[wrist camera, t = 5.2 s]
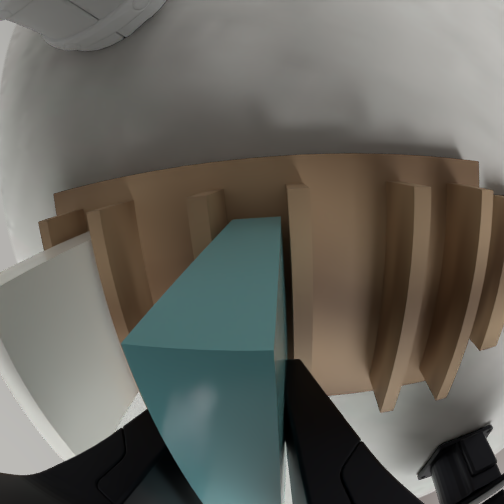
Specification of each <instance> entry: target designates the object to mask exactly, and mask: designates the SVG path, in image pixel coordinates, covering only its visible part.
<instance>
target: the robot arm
mask: <svg viewBox="0 0 504 504" xmlns="http://www.w3.org/2000/svg"><path fill="white" fill-rule="evenodd" d="M284 400H285V442H286V450H287V459H288V467H289V475H290V484H291V493H292V501H293V504H424V503H423V502H422V501H420V500H419V499H418V498H417V497H416V496H415V495H414V494H412V493H411V492H410V491H409V490H408V489H407V488H406V487H404V486H403V485H402V484H401V483H400V482H399V481H398V480H397V479H396V478H395V477H394V476H393V475H392V474H390V473H389V472H388V471H387V470H386V469H385V468H384V467H383V465H382V464H381V463H380V462H379V461H378V460H377V459H376V457H375V456H374V455H373V454H372V453H371V451H370V450H369V449H368V448H367V446H366V445H365V444H364V442H362V441H361V439H360V438H359V436H358V435H357V434H356V432H355V431H354V430H353V428H352V427H351V426H350V425H349V423H348V422H347V421H346V419H345V418H344V417H343V415H342V414H341V413H340V411H339V410H338V409H337V408H336V406H335V405H334V404H333V402H332V401H331V400H330V398H329V397H328V396H327V394H326V393H325V392H324V390H323V389H322V388H321V386H320V385H319V384H318V382H317V381H316V380H315V378H314V377H313V375H312V374H311V373H310V371H309V370H308V369H307V367H306V366H305V365H304V363H303V362H302V361H301V360H300V359H287V360H285V389H284ZM492 429H493V427H492V425H489V426H487V427H484V428H482V429H480V430H478V431H475V432H473V433H471V434H468V435H466V436H463V437H461V438H458V439H455V440H453V441H450V442H447V443H444V444H442V445H441V446H439V447H438V448H437V450H436V451H435V453H434V454H433V456H432V457H431V459H430V460H429V461H428V463H427V464H426V466H425V467H424V468H423V470H422V471H421V472H420V474H419V475H418V476H417V477H418V480H421V479H424V478H427V477H430V476H432V479H433V482H434V486H435V489H436V493H437V496H438V500H439V503H440V504H478V503H480V502H481V501H483V500H485V499H486V498H488V497H489V496H490V495H492V494H493V493H495V492H496V491H498V490H499V489H500V488H502V487H503V486H504V474H502V475H501V473H500V471H499V468H498V466H497V464H496V463H497V459H496V457H495V455H494V453H493V451H492V449H491V447H490V445H489V443H488V441H487V439H486V438H487V436H488V435H489V433H490V432H491V431H492ZM360 441H361V442H360ZM0 504H203V503H202V501H201V500H200V499H199V497H198V496H197V494H196V493H195V491H194V490H193V488H192V487H191V485H190V484H189V482H188V481H187V479H186V478H185V476H184V474H183V473H182V471H181V470H180V468H179V466H178V465H177V463H176V461H175V460H174V458H173V456H172V454H171V453H170V451H169V449H168V447H167V445H166V444H165V442H164V440H163V438H162V436H161V434H160V432H159V431H158V429H157V427H156V425H155V423H154V421H153V419H152V417H151V415H150V413H149V410H148V409H146V410H145V411H144V412H142V413H141V414H140V415H138V416H137V417H135V418H134V419H133V420H131V421H130V422H129V423H127V424H126V425H124V426H123V428H120V429H119V430H117V431H116V432H114V433H113V434H112V435H110V436H109V437H107V438H106V439H104V440H102V441H101V442H99V443H98V444H96V445H95V446H93V447H91V448H89V449H87V450H86V451H84V452H82V453H80V454H78V455H76V456H74V457H72V458H70V459H68V460H66V461H64V462H62V463H60V464H58V465H56V466H54V467H52V468H49V469H47V470H45V471H42V472H40V473H36V474H32V475H13V474H6V473H0ZM482 504H504V490H503V489H502V490H501V491H499V492H498V493H497V494H495V495H494V496H492V497H491V498H489V499H488V500H486V501H485V502H483V503H482Z"/></svg>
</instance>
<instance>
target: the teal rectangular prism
mask: <svg viewBox="0 0 504 504" xmlns="http://www.w3.org/2000/svg"><path fill="white" fill-rule="evenodd" d="M121 346H122V348H123V351H124V354H125V356H126V359H127V362H128V364H129V367H130V369H131V372H132V374H133V377H134V379H135V381H136V384H137V386H138V388H139V391H140V393H141V395H142V398H143V400H144V402H145V404H146V406H147V408H148V410H149V413H150V415H151V417H152V419H153V421H154V423H155V425H156V427H157V429H158V431H159V432H160V434H161V436H162V438H163V440H164V442H165V444H166V445H167V447H168V449H169V451H170V453H171V454H172V456H173V458H174V460H175V461H176V463H177V465H178V466H179V468H180V470H181V471H182V473H183V474H184V476H185V478H186V479H187V481H188V482H189V484H190V485H191V487H192V488H193V490H194V491H195V493H196V494H197V496H198V497H199V499H200V500H201V501H202V503H203V504H284V498H285V480H286V458H287V450H286V442H285V400H284V389H285V360H287V359H288V348H287V319H286V295H285V274H284V256H283V239H282V223H281V216H278V217H262V218H247V219H233V220H231V222H230V223H229V224H228V225H227V226H226V227H225V228H224V229H223V230H222V231H221V232H220V233H219V234H218V235H217V236H216V237H215V238H214V239H213V241H212V242H211V243H210V244H209V245H208V246H207V247H206V248H205V249H204V250H203V251H202V252H201V253H200V255H199V256H198V257H197V258H196V259H195V260H194V261H193V262H192V263H191V264H190V265H189V267H188V268H187V269H186V270H185V271H184V272H183V273H182V274H181V275H180V276H179V278H178V279H177V280H176V281H175V282H174V283H173V284H172V285H171V286H170V288H169V289H168V290H167V291H166V292H165V293H164V294H163V295H162V296H161V298H160V299H159V300H158V301H157V302H156V303H155V304H154V306H153V307H152V308H151V309H150V310H149V311H148V312H147V314H146V315H145V316H144V317H143V318H142V319H141V320H140V322H139V323H138V324H137V325H136V326H135V327H134V329H133V330H132V331H131V332H130V333H129V334H128V336H127V337H126V338H125V339H124V340H123V341H122V343H121Z"/></svg>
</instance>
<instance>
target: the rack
mask: <svg viewBox="0 0 504 504" xmlns="http://www.w3.org/2000/svg"><path fill="white" fill-rule="evenodd" d="M54 201H55V208H56V214H57V216H55V217H52V218H48V219H45V220H42V221H39V222H38V223H39V229H40V234H41V239H42V243H43V248H44V251H45V250H47V249H49V248H51V247H53V246H56V245H58V244H60V243H62V242H65V241H67V240H69V239H72V238H74V237H76V236H79V235H81V234H83V233H86V232H88V231H90V237H91V242H92V246H93V251H94V256H95V260H96V264H97V268H98V272H99V276H100V280H101V284H102V288H103V291H104V295H105V299H106V302H107V305H108V309H109V312H110V315H111V318H112V321H113V324H114V328H115V330H116V333H117V336H118V339H119V342H120V345H121V343H122V341H123V340H124V339H125V338H126V337H127V336H128V334H129V333H130V332H131V331H132V330H133V329H134V327H135V326H136V325H137V324H138V323H139V322H140V320H141V319H142V318H143V317H144V316H145V315H146V314H147V312H148V311H149V310H150V309H151V308H152V307H153V306H154V304H155V303H156V302H157V301H158V300H159V299H160V298H161V296H162V295H163V294H164V293H165V292H166V291H167V290H168V289H169V288H170V286H171V285H172V284H173V283H174V282H175V281H176V280H177V279H178V278H179V276H180V275H181V274H182V273H183V272H184V271H185V270H186V269H187V268H188V267H189V265H190V264H191V263H192V262H193V261H194V260H195V259H196V258H197V257H198V256H199V255H200V253H201V252H202V251H203V250H204V249H205V248H206V247H207V246H208V245H209V244H210V243H211V242H212V241H213V239H214V238H215V237H216V236H217V235H218V234H219V233H220V232H221V231H222V230H223V229H224V228H225V227H226V226H227V225H228V224H229V223H230V222H231V220H233V219H247V218H262V217H278V216H281V223H282V239H283V256H284V274H285V295H286V319H287V348H288V359H300V360H301V361H302V362H303V363H304V365H305V366H306V367H307V369H308V370H309V371H310V373H311V374H312V375H313V377H314V378H315V380H316V381H317V382H318V384H319V385H320V386H321V388H322V389H323V390H324V392H325V393H326V394H327V396H331V395H341V394H351V393H359V392H366V391H374V394H375V397H376V400H377V404H378V407H379V410H380V413H382V412H388V411H393V409H394V407H395V404H396V401H397V398H398V395H399V392H400V389H401V386H403V385H408V384H413V383H417V382H422V381H426V383H427V385H428V386H429V388H430V390H431V392H432V394H433V396H434V398H435V400H440V399H443V398H446V397H447V395H448V392H449V390H450V388H451V386H452V383H453V381H454V378H455V376H456V373H457V371H458V368H459V366H460V363H461V360H462V358H463V355H464V352H465V349H466V346H467V343H468V340H469V337H470V334H471V331H472V327H473V324H474V320H475V316H476V313H477V309H478V305H479V301H480V296H481V292H482V287H483V282H484V277H485V272H486V266H487V260H488V253H489V245H490V237H491V227H492V213H493V190H489V189H484V188H479V161H471V160H463V159H454V158H444V157H432V156H418V155H400V154H364V153H341V154H304V155H285V156H270V157H257V158H246V159H236V160H227V161H218V162H210V163H202V164H195V165H188V166H181V167H174V168H168V169H162V170H156V171H151V172H145V173H140V174H135V175H130V176H125V177H120V178H115V179H111V180H106V181H102V182H97V183H93V184H89V185H85V186H81V187H77V188H73V189H69V190H65V191H62V192H58V193H55V194H54ZM121 348H122V346H121ZM122 350H123V348H122ZM123 353H124V351H123ZM124 356H125V354H124ZM125 358H126V356H125ZM126 361H127V359H126ZM127 363H128V362H127ZM128 366H129V364H128ZM129 368H130V367H129ZM130 371H131V369H130ZM131 373H132V372H131ZM132 376H133V374H132ZM133 378H134V377H133ZM134 380H135V379H134ZM135 383H136V381H135ZM136 385H137V384H136ZM137 387H138V386H137ZM138 390H139V388H138ZM139 392H140V391H139ZM140 394H141V393H140ZM141 396H142V395H141ZM142 399H143V398H142ZM143 401H144V400H143ZM144 403H145V402H144ZM145 405H146V404H145ZM146 407H147V406H146ZM147 409H148V408H147Z"/></svg>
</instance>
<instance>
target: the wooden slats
mask: <svg viewBox="0 0 504 504" xmlns="http://www.w3.org/2000/svg"><path fill="white" fill-rule="evenodd" d="M503 325H504V196H503V195H493V213H492V227H491V237H490V245H489V253H488V260H487V266H486V272H485V277H484V282H483V287H482V292H481V296H480V301H479V305H478V309H477V313H476V316H475V320H474V324H473V327H472V331H471V334H470V337H469V339H470V340H471V341H472V342H473V343H474V344H475V346H476V347H477V348H478V349H479V350H480V351H481V350H485V349H488V348H491V347H494V346H496V345H497V342H498V339H499V337H500V334H501V331H502V328H503Z"/></svg>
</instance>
